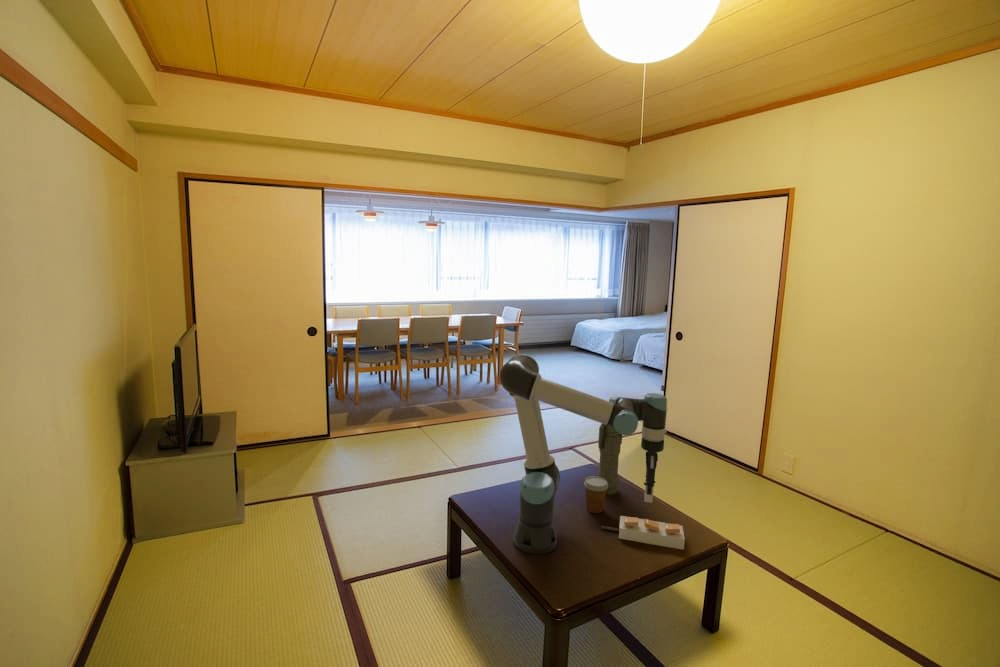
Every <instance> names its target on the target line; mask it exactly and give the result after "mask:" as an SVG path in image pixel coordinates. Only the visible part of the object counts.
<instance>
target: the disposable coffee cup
mask: <svg viewBox="0 0 1000 667" xmlns="http://www.w3.org/2000/svg"><path fill="white" fill-rule="evenodd" d="M583 485H584V487H585V489H584V490H585V499H586V500H585V502H586V510H587V512H590V513H592V514H593V513H594V514H600V513H602V512H603V511H604V505H605V500H606V496H607V494H606V491H607V488H608V483H607V481H606V480H605V479H603V478H601V477H598V476H593V475H591V476H588V477H586V478H585V481H584V482H583Z"/></svg>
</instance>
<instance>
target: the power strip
mask: <svg viewBox="0 0 1000 667" xmlns="http://www.w3.org/2000/svg"><path fill="white" fill-rule="evenodd" d="M630 517H631V516H625V515H620V516H619V525H618V526H619V528H617V527H611V526H605V525H601V529H603V530H608V531H613V532H614V531H615V532H618V539H620V540H621V539H622V540H627V541H632V542H638V543H643V544H647V545H655V546H660V547H665V548H671V549H677V550H678V549H679V550H685V541H686V540H685V539H686V538H685V534H684V527H683V525H680V524H679V529H680V533H666V531H665V524H670V523H667V522H663V521H662V522H661V521H658V520H657V521H655V520H653V521H654V522H656V523H659V530H658V532H657V531H655V530H652V529H649V528H646V527H644V521H645V519H646V518H639V517H638V525H639V526H625V524H624V518H630Z"/></svg>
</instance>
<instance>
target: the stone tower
mask: <svg viewBox="0 0 1000 667" xmlns="http://www.w3.org/2000/svg"><path fill="white" fill-rule="evenodd" d="M598 430H599V431H598V441H597V442H598V444H597V445H598V450H599V467H598V473H597V477H601V478H603V479H605V480H606V481H607V483H608V488H607V491H606V495H607V494H608V496H609V495H610V496H612V495H616V494H617V493H618V487H619V479H620V477H619V474H618V473H619V460H620V459H619V457H620V454H621V445H622V443H623V435H622V434H619V433H618V432H617V431H616V430H615V428H613V427H611V426H608V425H605V424H602V423H600V425H599V427H598Z"/></svg>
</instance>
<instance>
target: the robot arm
mask: <svg viewBox="0 0 1000 667" xmlns="http://www.w3.org/2000/svg"><path fill="white" fill-rule="evenodd" d="M499 383H500V385H501V387H502V388H503V389H504V390H505V391H507V392H508V393H509V396H510V397H512V398H514V403H515V408H516V412H517V416H518V418H517V419H518V421H519V427H520V431H521V437H522V441H523V447H524V451H525V456H526V457H525V458H526V460H525V461H524V463H523V466H524V471H525V475H524V476H523V477H522V478H521V481H520V486H519V519H518V522H517V525H516V527H515V530H514V533H513V543H514V545H515V546H516V548H517V549H519V550H520V551H521V552H524V553H527V554H532V555H545V554H547V553H550V552H552V551H553V550H555V548H556V546H557V541H558V538H557V532H556V529H555V525H554V522H553V520H554V518H553V517H554V503H555V497H556V494H557V490H558V487H559V485H560V481H561V473H560V470H559V467H558V466H557V464H556V461H555V460H556V459H555V458H554V456H552V455H550V451H549V446H548V442H547V441H548V440H547V436H546V431H545V425H544V422H543V416H542V412H541V406H540V402H542V403H544V404H546V405H549V406H553V407H555V408H558V409H561V410H563V411H567V412H570V413H572V414H574V415H578V416H580V417H584V418H586V419H589V420H591V421H594V422H597V423H600V424H605V425H608V426H611V427H613V428H615V430H616V431H617V432H618V433H619V434H622V436H629V435H632V434H634V433H635V432H636V431H637V429H638V425H639V421H640V422H642V426H641V427H642V428H641V441H640V447H641V449H642V450H644V451H645V466H646V468H645V482H643V485H644V497H643V498H644V501H643V502H645V503H653V500H654V499H653V498H654V487H655V484H656V480H655V478H656V468H657V463H658V460H659V455H658V453H660V452H663V451H664V447H665V440H664V439H665V436H666V435H665V434H667V432H668V431H667V430H666V423H667V421H666V420H667V412H668V407H667V405H668V399H667V397H666V396H665V395H663V394H660V393H656V392H655V393H654V392H652V393H646V394H645V395H644V398H641V399H640V398H631V397H622V396H612V397H609V401H608V400H606V399H603V398H600V397H598V396H594V395H592V394H588V393H586V392H583V391H580V390H577V389H574V388H571V387H569V386H566V385H562V384H560V383H558V382H554V381H552V380H549V379H546V378H543V377H542V376H541V374H540V367H539V363H538V362H537V361H536V359H535V358H534V357H532V356H531V355H529V354H524V353H521V354H517V355H514V356H512V357H511V358H510V359H509V360H508V361H507V362H506V363H504V365H503V366H501V369H500V371H499Z"/></svg>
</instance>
